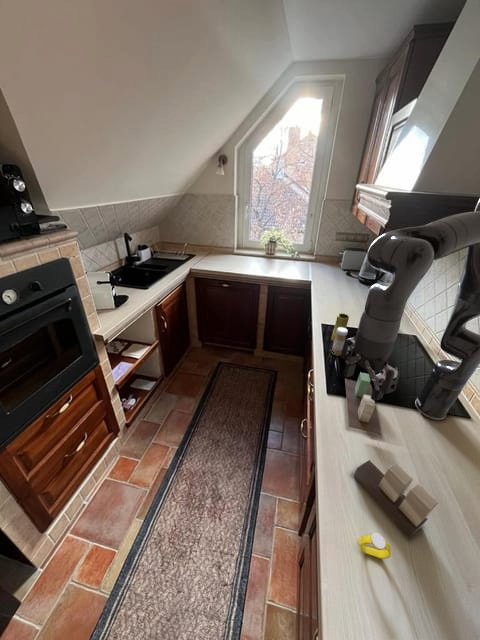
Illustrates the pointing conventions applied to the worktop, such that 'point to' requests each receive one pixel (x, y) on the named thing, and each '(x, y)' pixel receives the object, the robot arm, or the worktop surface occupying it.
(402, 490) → the stand
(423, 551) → the worktop surface
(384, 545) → the watch
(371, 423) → the near board
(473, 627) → the worktop surface
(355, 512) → the worktop surface
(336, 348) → the sprinkles bottle
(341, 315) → the vase
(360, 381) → the green flat piece
